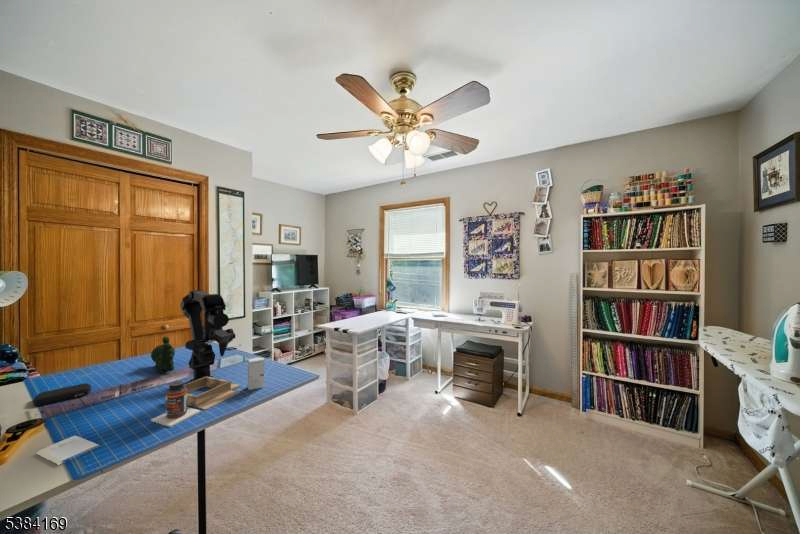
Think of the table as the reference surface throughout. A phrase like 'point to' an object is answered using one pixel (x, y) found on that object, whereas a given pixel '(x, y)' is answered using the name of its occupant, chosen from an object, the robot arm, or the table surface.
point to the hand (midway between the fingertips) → (212, 359)
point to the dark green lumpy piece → (163, 356)
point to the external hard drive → (70, 448)
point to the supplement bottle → (176, 400)
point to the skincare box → (255, 373)
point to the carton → (210, 392)
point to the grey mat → (173, 421)
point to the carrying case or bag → (62, 394)
